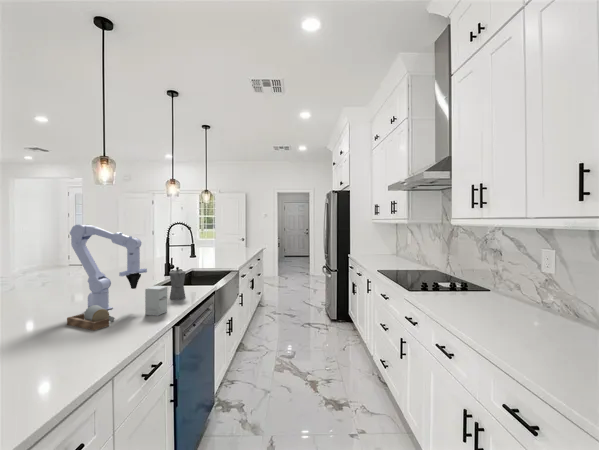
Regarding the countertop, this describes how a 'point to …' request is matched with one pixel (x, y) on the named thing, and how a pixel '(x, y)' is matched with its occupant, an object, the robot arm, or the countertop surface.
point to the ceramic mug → (97, 314)
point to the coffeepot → (177, 284)
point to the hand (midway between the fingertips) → (133, 288)
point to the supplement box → (156, 300)
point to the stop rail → (87, 322)
